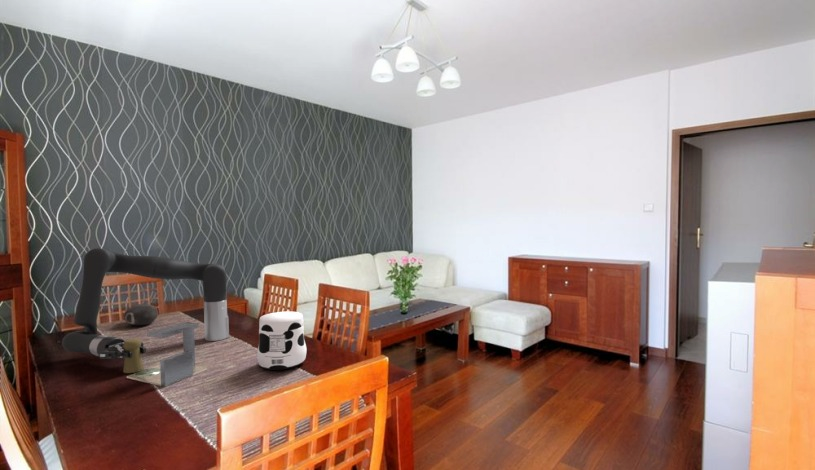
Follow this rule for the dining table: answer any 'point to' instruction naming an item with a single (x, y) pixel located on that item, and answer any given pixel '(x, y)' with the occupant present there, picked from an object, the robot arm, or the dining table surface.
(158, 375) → the stand
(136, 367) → the cork
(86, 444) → the dining table surface
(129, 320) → the decorative stone
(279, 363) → the milk container
